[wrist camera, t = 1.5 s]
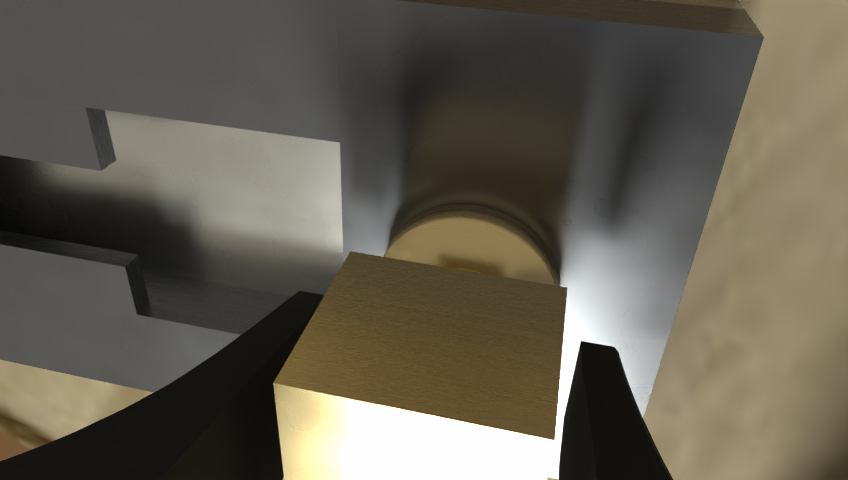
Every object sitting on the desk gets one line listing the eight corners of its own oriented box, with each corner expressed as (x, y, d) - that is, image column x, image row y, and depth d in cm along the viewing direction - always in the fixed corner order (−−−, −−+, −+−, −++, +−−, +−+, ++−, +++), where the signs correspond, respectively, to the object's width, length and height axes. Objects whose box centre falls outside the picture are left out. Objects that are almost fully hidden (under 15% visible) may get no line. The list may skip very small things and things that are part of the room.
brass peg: (572, 219, 14) (554, 440, 9) (545, 362, 16) (519, 603, 11) (385, 191, 14) (273, 383, 10) (383, 332, 17) (291, 547, 12)
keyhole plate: (737, -1, 13) (763, 37, 11) (618, 416, 20) (619, 491, 18) (-139, -81, 17) (-252, -65, 15) (4, 296, 23) (-59, 347, 21)
